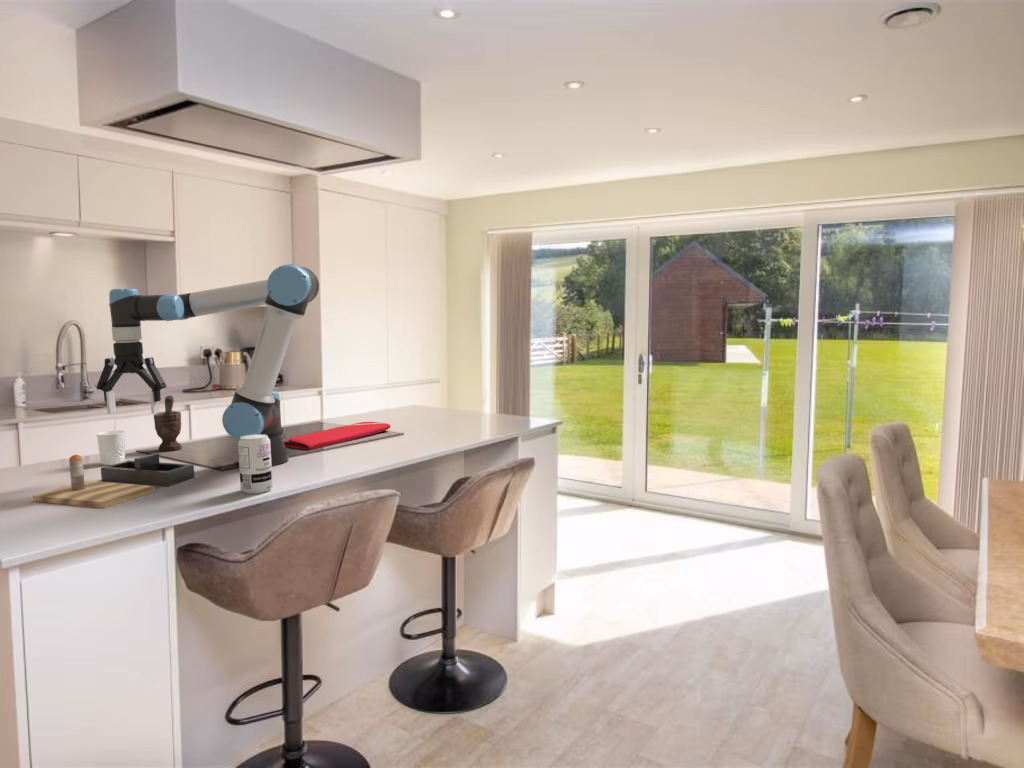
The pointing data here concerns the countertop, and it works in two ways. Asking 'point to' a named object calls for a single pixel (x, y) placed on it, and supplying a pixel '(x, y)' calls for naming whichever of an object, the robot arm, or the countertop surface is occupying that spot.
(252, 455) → the supplement can
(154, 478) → the dark grey tray
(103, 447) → the white cup
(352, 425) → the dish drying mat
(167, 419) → the mortar and pestle
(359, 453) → the countertop surface
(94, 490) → the board
